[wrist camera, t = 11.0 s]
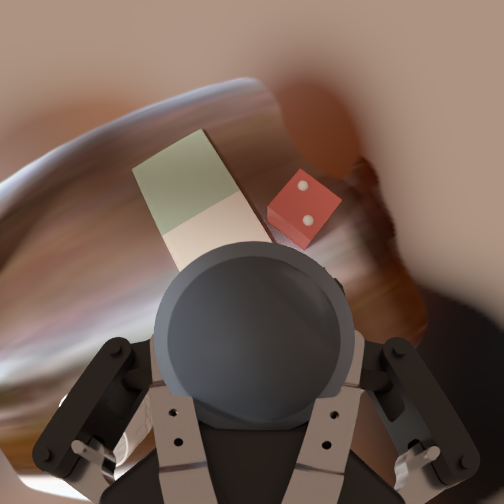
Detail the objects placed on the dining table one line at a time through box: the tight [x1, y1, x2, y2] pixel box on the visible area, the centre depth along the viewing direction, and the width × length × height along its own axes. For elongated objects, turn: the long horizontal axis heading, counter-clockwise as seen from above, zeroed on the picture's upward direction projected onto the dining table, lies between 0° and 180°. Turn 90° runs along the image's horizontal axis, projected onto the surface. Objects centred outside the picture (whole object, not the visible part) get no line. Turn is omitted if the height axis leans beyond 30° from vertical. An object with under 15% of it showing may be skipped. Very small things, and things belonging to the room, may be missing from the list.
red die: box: [267, 169, 342, 250], centre depth 28 cm, size 5×5×6 cm
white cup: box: [59, 391, 153, 467], centre depth 24 cm, size 8×8×10 cm
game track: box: [132, 129, 272, 272], centre depth 31 cm, size 10×30×1 cm, turn 30°
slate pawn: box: [154, 241, 355, 430], centre depth 12 cm, size 6×6×10 cm
